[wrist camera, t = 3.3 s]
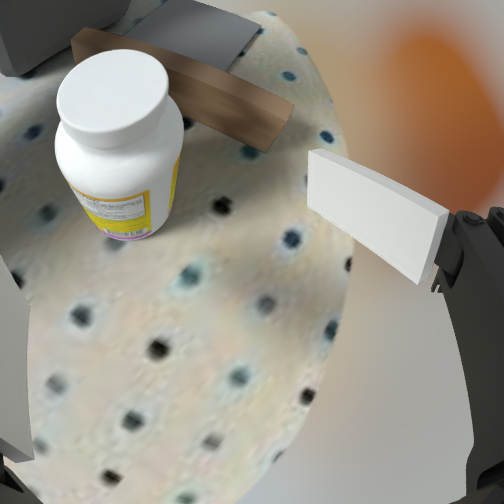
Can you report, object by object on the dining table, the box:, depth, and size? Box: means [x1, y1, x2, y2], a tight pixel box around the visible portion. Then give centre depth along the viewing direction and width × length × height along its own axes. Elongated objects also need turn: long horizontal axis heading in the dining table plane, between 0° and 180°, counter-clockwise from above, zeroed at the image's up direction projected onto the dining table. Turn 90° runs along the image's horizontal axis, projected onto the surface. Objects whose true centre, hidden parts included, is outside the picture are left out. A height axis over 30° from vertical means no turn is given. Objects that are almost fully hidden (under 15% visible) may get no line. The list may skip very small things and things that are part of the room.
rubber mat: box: [124, 0, 261, 72], centre depth 27 cm, size 12×11×1 cm
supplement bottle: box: [55, 49, 184, 241], centre depth 16 cm, size 7×7×13 cm
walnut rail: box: [71, 27, 294, 153], centre depth 22 cm, size 20×2×5 cm, turn 68°
